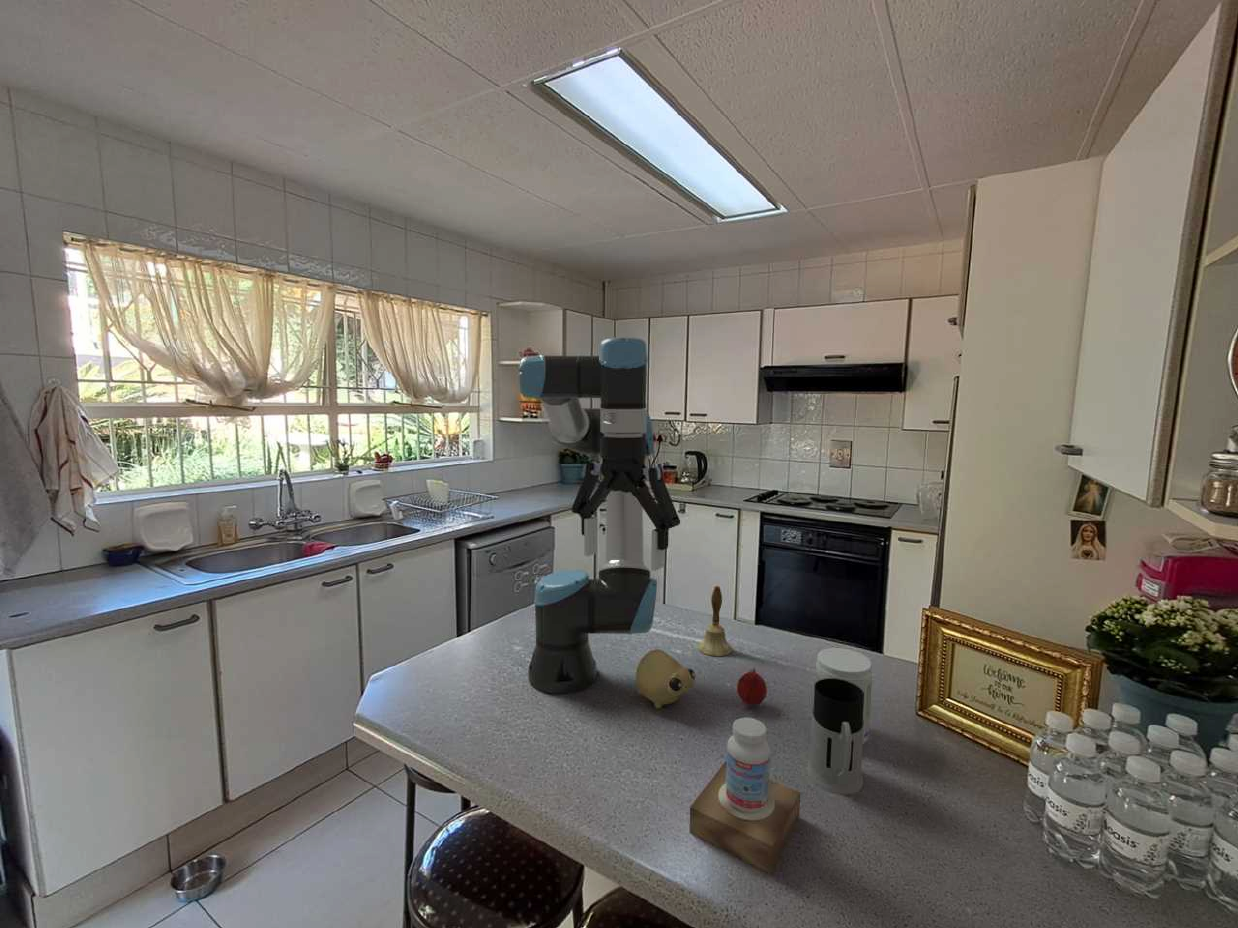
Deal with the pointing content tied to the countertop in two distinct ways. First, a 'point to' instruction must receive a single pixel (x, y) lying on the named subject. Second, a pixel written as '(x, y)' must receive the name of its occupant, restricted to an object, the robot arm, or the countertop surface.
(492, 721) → the countertop surface
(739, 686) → the onion
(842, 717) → the glass holder
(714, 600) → the hand bell
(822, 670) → the supplement tub
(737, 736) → the pill bottle
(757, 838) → the walnut plinth
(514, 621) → the countertop surface
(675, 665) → the toy pig
